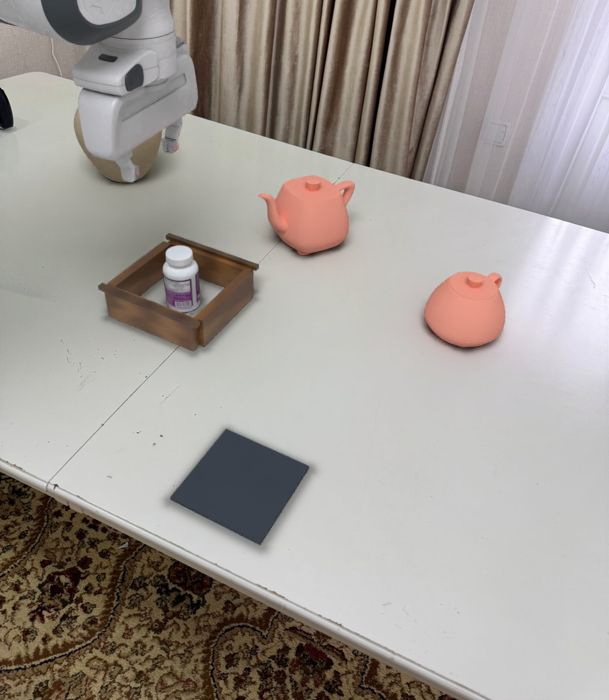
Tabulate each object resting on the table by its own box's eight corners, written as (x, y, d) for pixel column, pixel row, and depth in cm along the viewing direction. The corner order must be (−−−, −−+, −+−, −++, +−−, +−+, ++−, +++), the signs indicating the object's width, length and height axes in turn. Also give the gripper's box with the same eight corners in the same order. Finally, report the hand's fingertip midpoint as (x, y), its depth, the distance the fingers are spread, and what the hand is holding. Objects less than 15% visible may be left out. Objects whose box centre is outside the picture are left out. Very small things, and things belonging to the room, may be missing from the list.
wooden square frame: (103, 315, 96) (97, 285, 92) (171, 260, 108) (169, 232, 104) (197, 354, 90) (195, 324, 87) (258, 292, 102) (259, 264, 99)
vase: (97, 155, 135) (71, 1, 115) (173, 161, 135) (160, 9, 115) (72, 191, 123) (39, 26, 103) (157, 198, 123) (139, 34, 103)
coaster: (170, 499, 72) (169, 497, 71) (226, 430, 80) (226, 428, 80) (260, 545, 68) (260, 543, 68) (309, 468, 76) (309, 465, 76)
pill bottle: (181, 289, 102) (176, 238, 95) (207, 300, 100) (204, 249, 93) (159, 305, 98) (153, 254, 92) (186, 318, 96) (181, 266, 90)
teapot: (240, 236, 115) (239, 175, 106) (329, 212, 123) (335, 154, 115) (276, 273, 107) (279, 210, 98) (369, 245, 115) (378, 184, 107)
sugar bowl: (405, 323, 99) (417, 270, 92) (461, 293, 106) (476, 241, 99) (465, 366, 92) (483, 312, 85) (521, 330, 99) (541, 278, 92)
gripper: (164, 28, 81) (173, 131, 90) (60, 74, 67) (84, 191, 76) (206, 36, 80) (211, 140, 89) (110, 85, 65) (127, 203, 75)
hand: (152, 164), depth 82 cm, fingers open, 8 cm apart
